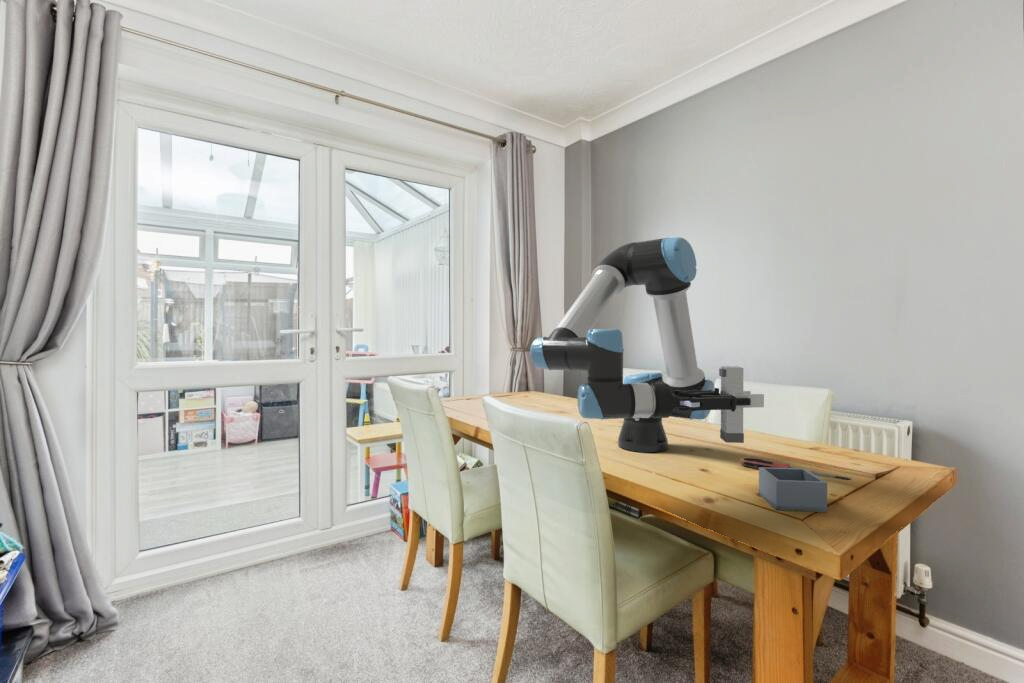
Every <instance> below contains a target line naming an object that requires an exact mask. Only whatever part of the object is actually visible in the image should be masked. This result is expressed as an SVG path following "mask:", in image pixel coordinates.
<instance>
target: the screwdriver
mask: <svg viewBox="0 0 1024 683" xmlns="http://www.w3.org/2000/svg"><path fill="white" fill-rule="evenodd" d="M739 464H740V465H742V466H743V467H747V468H751V469H755V470H759V467H769V468H794V467H792V466H790V464H789V463H779V462H776V461H772V460H767V459H763V458H760V457H746V456H743V457H741V458H740V459H739ZM809 471H810V472H811V473H813V474H814V475H816V476H818V477H819V476H820V477H825V478H831V479H838V480H842V481H843V480H845V481H852V480H853V479H852V478H850V477H846V476H840V475H835V474H829V473H826V472H825V473H824V472H818V471H813V470H812V471H811V470H809Z"/></svg>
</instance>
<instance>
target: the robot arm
mask: <svg viewBox="0 0 1024 683" xmlns="http://www.w3.org/2000/svg"><path fill="white" fill-rule="evenodd" d="M696 276H697V259H696V254H695V252H694V249H693V246H692V245H691V243H690V242H689V241H688V240H687V239H686V238H684V237H679V236H678V237H664V238H655V239H651V240H644V241H643V240H642V241H638V242H629V243H625V244H623V245H620V246H619V247H617V248H615V249H614V250H613V251H612V252H610V253H608V254H607V255H606V256H605V257H604V258H603V259H601V261H599V263H598V264H597V265H596V266H595V267H594V269H593V270H592V272H591V276H590V277H591V280H590V281H588V283H587V284H586V286H585V288H584V289H583V290H582V291H581V292H580V294H579V296H577V298H576V299H575V301H574V303H572V305H571V306H570V307H569V309H568V310H567V312H566V313H565V314H564V315H563V317H562V318H561V320H560V321H559V322H558V324H557V325H556V326H555V328H554V329H553V331H551V333H550V334H549V336H541V337H537V338H535V339H534V340H533V341H532V344H531V345H530V349H529V355H530V356H529V357H530V361H531V362H532V364H533V365H534V366H535V367H536V368H538V369H542V370H549V371H574V372H587V382H586V383H584V384H583V383H582V384H580V385H578V388H577V399H576V400H577V409H578V413H579V415H580V416H581V417H582V418H584V419H592V420H593V419H594V420H601V421H602V420H613V419H619V420H620V419H623V422H622V426H621V429H620V431H619V435H618V437H617V438H618V440H617V442H618V443H617V445H618V447H619V448H621V449H623V450H626V451H630V452H637V453H639V452H640V453H659V452H664V451H667V450H668V447H669V441H668V437H667V435H666V431H665V428H664V424H663V419H669V417H673V418H680V419H681V418H682V419H689V420H705V419H706V418H707V417H708V416H709V415H710V413H711V411H721V410H731V411H732V412H734V411H735V410H736V408H743V409H745V408H747V409H748V408H764V407H765V394H763V393H751V392H752V390H743V394H735V395H730V396H721V390H720V388H719V387H715V384H714V382H713V380H710V379H706V377H705V372H704V371H703V369H701V368H700V367H698V361H697V354H696V349H695V342H694V336H693V329H692V322H691V317H690V311H689V310H690V309H689V303H688V297H687V296H688V295H687V291H688V289H689V288H691V286H692V283H691V282H692V281H694V280H695V278H696ZM631 286H644V287H645V291H646V292H645V293H646V294H647V295H648V296H649V297H651V298H652V299H653V304H654V310H655V316H656V322H657V326H658V332H659V338H660V342H661V349H662V353H663V354H662V355H663V358H664V364H665V373H664V374H662V372H658V371H655V372H644V373H637V374H636V373H634V374H630V375H627V376H625V377H624V343H623V340H624V339H623V332H622V331H621V330H620V329H618V328H594V327H595V326H596V324H597V322H598V321H599V320H600V318H601V316H602V315H603V313H604V312H605V310H606V309H607V307H609V304H610V303H611V302H612V300H613V298H614V297H615V296H616V295H619V294H620V293H622V292H623V290H624V289H625V288H627V287H631Z"/></svg>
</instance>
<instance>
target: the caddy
mask: <svg viewBox="0 0 1024 683" xmlns="http://www.w3.org/2000/svg"><path fill="white" fill-rule="evenodd" d="M810 471H811V470H808V469H806V468H803V467H802V468H798V467H797V468H796V467H793V468H769V467H759V469H758V495H760V497H762V498H763V499H764V500H765V501H766V502H767V503H768V504H769V505H770V506H771V507H772V508H773V509H775V510H776V511H788V510H803V511H802V512H813V511H815V512H818V513H821V512H822V513H828V482H827V481H825V480H824V479H823V478H820V477H819V476H818V475H814V474H813V473H811V472H810Z"/></svg>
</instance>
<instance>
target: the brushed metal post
mask: <svg viewBox="0 0 1024 683" xmlns="http://www.w3.org/2000/svg"><path fill="white" fill-rule="evenodd" d="M718 375H719V377H720V391H721V396H730V395H735V394H743V391H744V367H740V366H737V365H735V366H731V365H729V366H728V365H726V366H722V365H721V366H720V368H718ZM719 430H720V431H719V434H720V435H719V438H720V439H721V440H722V441H724V442H725V443H732V444H734V443H735V444H738V443H739V444H744V442H745V441H744V440H745V433H744V408H736V410H735V411H734V412H732V411H731V410H720V429H719Z"/></svg>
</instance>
